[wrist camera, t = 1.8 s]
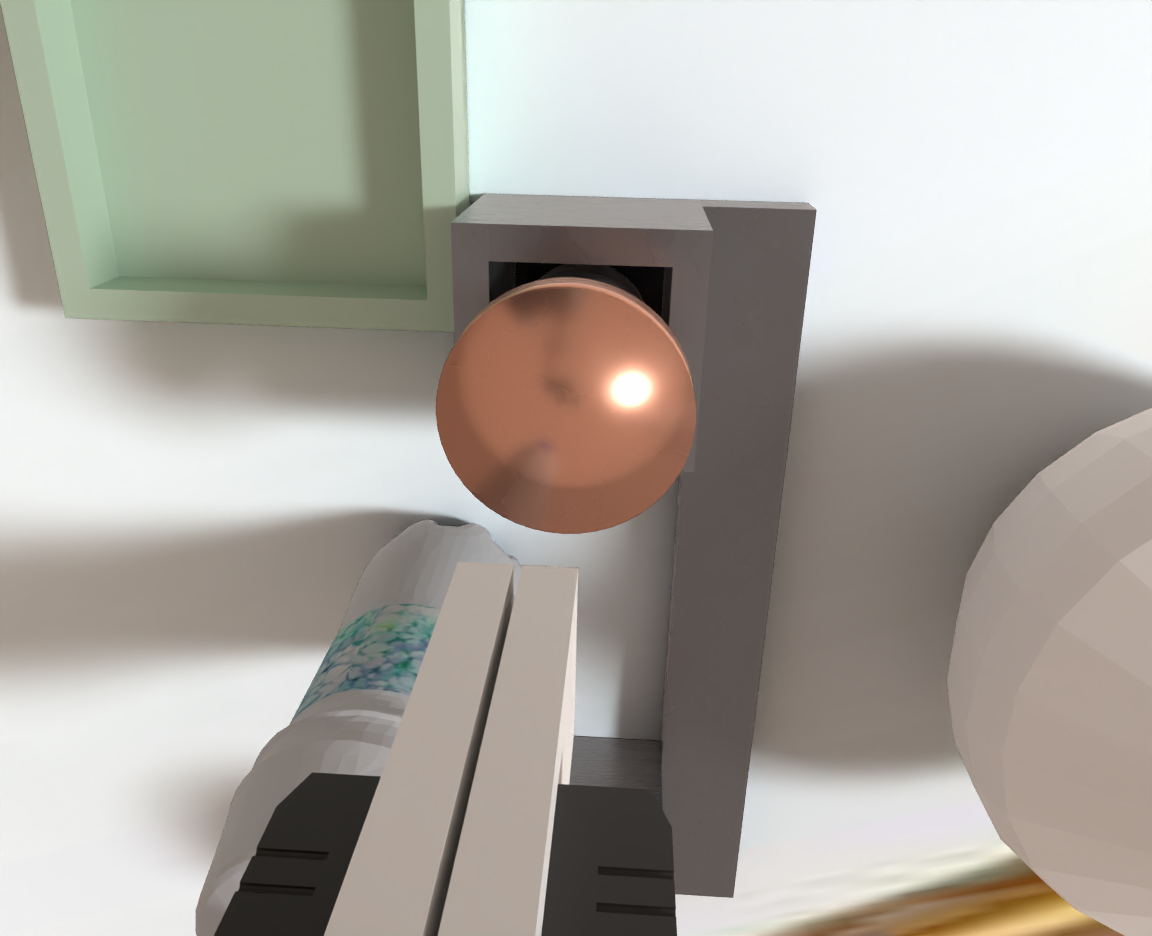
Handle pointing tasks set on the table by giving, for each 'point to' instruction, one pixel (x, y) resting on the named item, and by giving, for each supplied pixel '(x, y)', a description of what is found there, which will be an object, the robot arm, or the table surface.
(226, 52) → the tray
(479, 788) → the robot arm
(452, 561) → the bottle
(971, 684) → the vase
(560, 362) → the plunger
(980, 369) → the table surface
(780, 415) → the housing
